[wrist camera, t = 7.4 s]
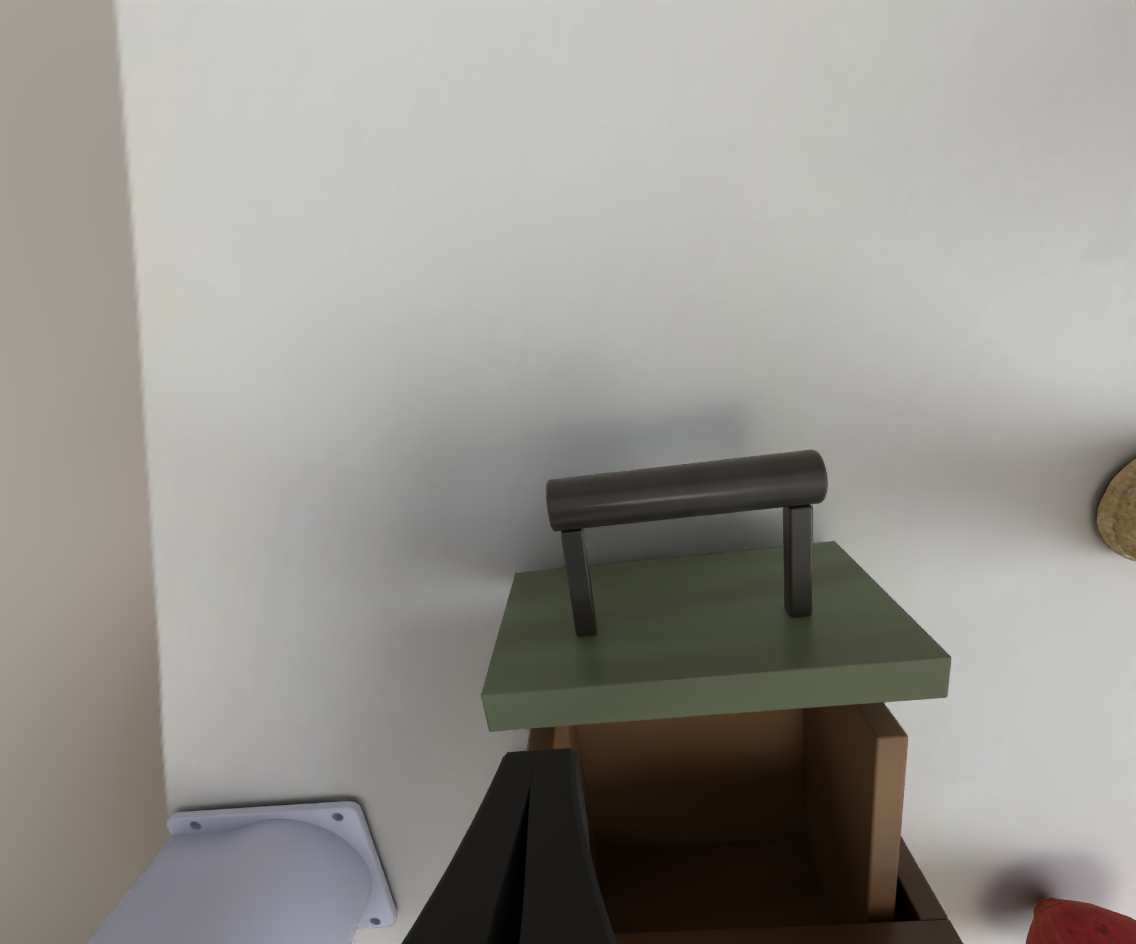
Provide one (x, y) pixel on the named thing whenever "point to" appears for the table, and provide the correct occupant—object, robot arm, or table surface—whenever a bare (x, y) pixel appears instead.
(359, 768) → the table surface
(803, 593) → the drawer
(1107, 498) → the sprinkles bottle
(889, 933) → the cabinet
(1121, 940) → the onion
